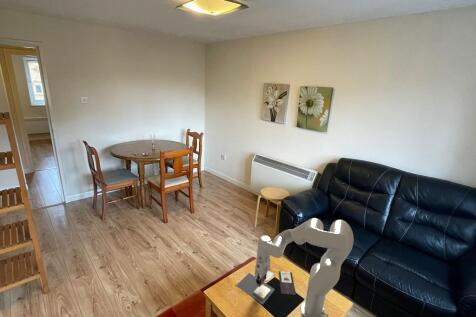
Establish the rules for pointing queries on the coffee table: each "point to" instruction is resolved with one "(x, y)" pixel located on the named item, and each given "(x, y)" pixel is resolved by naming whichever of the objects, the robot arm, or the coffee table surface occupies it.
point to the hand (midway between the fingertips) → (261, 280)
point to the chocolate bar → (287, 283)
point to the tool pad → (268, 275)
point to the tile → (262, 291)
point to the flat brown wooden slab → (261, 280)
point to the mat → (252, 287)
